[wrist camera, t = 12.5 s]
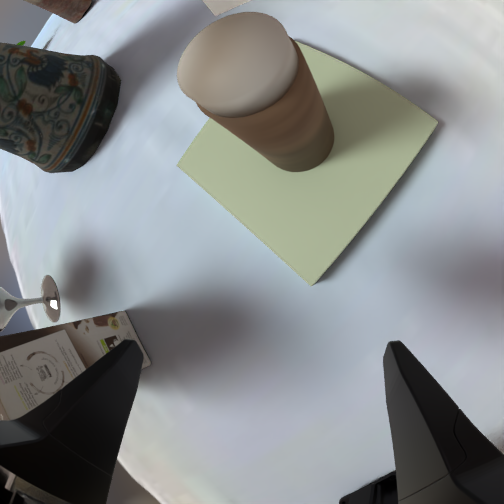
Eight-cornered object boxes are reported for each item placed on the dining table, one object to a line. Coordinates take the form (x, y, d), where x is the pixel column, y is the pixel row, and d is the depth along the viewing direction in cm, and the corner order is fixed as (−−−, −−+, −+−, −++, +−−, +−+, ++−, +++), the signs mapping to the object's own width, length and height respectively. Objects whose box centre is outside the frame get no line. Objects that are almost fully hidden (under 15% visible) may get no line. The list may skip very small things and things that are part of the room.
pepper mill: (335, 105, 17) (295, 1, 7) (332, 174, 17) (288, 101, 8) (266, 106, 18) (187, 24, 9) (258, 170, 19) (162, 116, 10)
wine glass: (55, 335, 34) (-27, 353, 20) (37, 297, 36) (-39, 306, 22) (65, 301, 31) (-31, 315, 18) (46, 261, 34) (-40, 265, 20)
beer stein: (130, 122, 26) (-81, 61, 3) (50, 208, 33) (-97, 201, 10) (118, 44, 28) (-18, -16, 5) (47, 126, 35) (-69, 102, 12)
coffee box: (124, 307, 26) (-24, 337, 11) (153, 364, 25) (9, 424, 10) (89, 337, 29) (-24, 366, 15) (113, 385, 28) (2, 429, 13)
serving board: (435, 128, 15) (438, 121, 14) (314, 284, 19) (311, 286, 18) (284, 43, 19) (279, 35, 18) (185, 168, 23) (176, 165, 22)
